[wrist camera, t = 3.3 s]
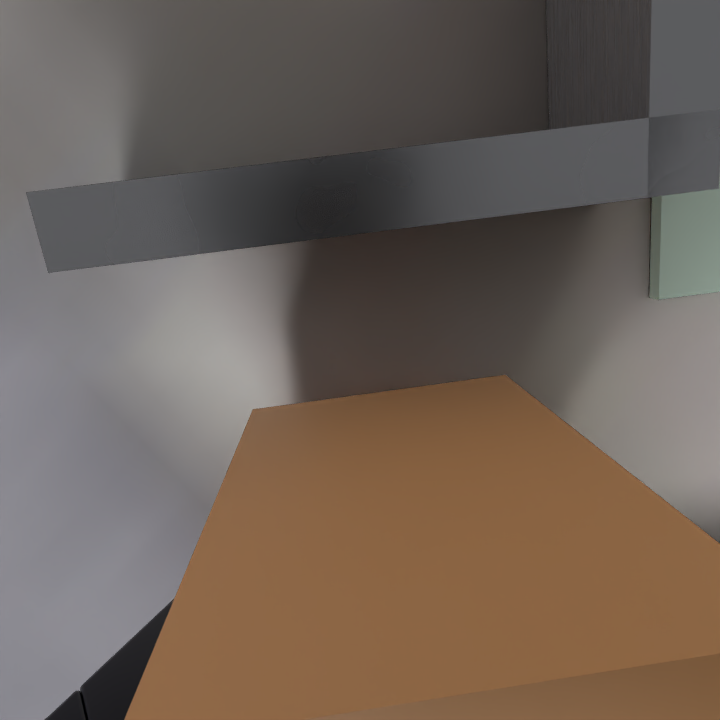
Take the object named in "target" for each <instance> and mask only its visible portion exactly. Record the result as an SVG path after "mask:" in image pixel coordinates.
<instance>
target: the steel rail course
mask: <svg viewBox="0 0 720 720" xmlns="http://www.w3.org/2000/svg"><path fill="white" fill-rule="evenodd" d="M546 19H547V60H548V101H549V130H542V131H534V132H525V133H517V134H509V135H500V136H492V137H484V138H475V139H467V140H459V141H450V142H442V143H434V144H425V145H417V146H408V147H400V148H392V149H383V150H375V151H367V152H358V153H350V154H342V155H333V156H325V157H317V158H308V159H300V160H292V161H283V162H275V163H267V164H258V165H250V166H242V167H233V168H225V169H217V170H208V171H200V172H192V173H183V174H175V175H167V176H158V177H150V178H141V179H133V180H125V181H116V182H108V183H100V184H91V185H83V186H75V187H66V188H58V189H50V190H41V191H33V192H26V194H27V197H28V201H29V205H30V208H31V212H32V216H33V219H34V223H35V227H36V230H37V234H38V238H39V241H40V245H41V248H42V252H43V256H44V259H45V263H46V267H47V270H48V273H51V272H59V271H67V270H75V269H83V268H91V267H99V266H107V265H115V264H123V263H131V262H139V261H147V260H155V259H163V258H171V257H179V256H186V255H194V254H202V253H210V252H218V251H226V250H234V249H242V248H250V247H258V246H266V245H274V244H282V243H290V242H298V241H306V240H314V239H322V238H330V237H338V236H346V235H354V234H362V233H370V232H378V231H386V230H394V229H402V228H410V227H418V226H426V225H434V224H442V223H450V222H458V221H466V220H474V219H482V218H489V217H497V216H505V215H513V214H521V213H529V212H537V211H545V210H553V209H561V208H569V207H577V206H585V205H593V204H601V203H609V202H617V201H625V200H633V199H641V198H649V197H657V196H665V195H673V194H681V193H689V192H697V191H705V190H713V189H719V178H720V0H546Z"/></svg>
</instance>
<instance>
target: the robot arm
mask: <svg viewBox="0 0 720 720" xmlns="http://www.w3.org/2000/svg"><path fill="white" fill-rule="evenodd" d="M173 601H174V599H173V600H172V601H171V602H170V603H169V604H168V605H167V606H166V607H165V608H164V609H163V610H161V611H160V612H159V613H158V614H157V615H156V616H155V617H154V618H153V619H152V620H151V621H150V622H149V623H148V624H147V625H145V626H144V627H143V628H142V629H141V630H140V631H139V632H138V633H137V634H136V635H135V636H134V637H133V638H132V639H131V640H130V641H128V642H127V643H126V644H125V645H124V646H123V647H122V648H121V649H120V650H119V651H118V652H117V653H116V654H115V655H114V656H112V657H111V658H110V659H109V660H108V661H107V662H106V663H105V664H104V665H103V666H102V667H101V668H100V669H99V670H98V671H96V672H95V673H94V674H93V675H92V676H91V677H90V678H89V679H88V680H87V681H86V682H85V683H84V684H83V685H82V686H81V688H80V691H81V692H80V691H75V692H74V693H73V694H72V695H71V696H70V697H69V698H68V699H66V700H65V701H64V702H63V703H62V704H61V705H60V706H59V707H58V708H57V709H56V710H55V711H54V712H53V713H52V714H50V715H49V716H48V717H47V718H46V719H45V720H124V719H125V717H126V714H127V712H128V709H129V707H130V705H131V702H132V700H133V697H134V695H135V693H136V690H137V688H138V685H139V683H140V680H141V678H142V676H143V673H144V671H145V668H146V666H147V664H148V661H149V659H150V656H151V654H152V652H153V649H154V647H155V644H156V642H157V639H158V637H159V635H160V632H161V630H162V627H163V625H164V623H165V620H166V618H167V615H168V613H169V611H170V608H171V606H172V603H173Z"/></svg>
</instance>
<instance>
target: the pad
mask: <svg viewBox="0 0 720 720" xmlns="http://www.w3.org/2000/svg"><path fill="white" fill-rule="evenodd" d="M714 292H720V178H719V189H713V190H705V191H697V192H689V193H681V194H673V195H665V196H657V197H652V211H651V254H650V296H649V298H652V299H657V300H661V299H669V298H676V297H684V296H691V295H699V294H706V293H714Z"/></svg>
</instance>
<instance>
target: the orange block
mask: <svg viewBox="0 0 720 720" xmlns="http://www.w3.org/2000/svg"><path fill="white" fill-rule="evenodd" d="M124 720H720V543H718V542H717V541H716V540H715V539H713V538H712V537H711V536H709V535H708V534H707V533H706V532H704V531H703V530H702V529H701V528H699V527H698V526H697V525H696V524H694V523H693V522H692V521H690V520H689V519H688V518H687V517H685V516H684V515H683V514H682V513H680V512H679V511H678V510H676V509H675V508H674V507H673V506H671V505H670V504H669V503H668V502H666V501H665V500H664V499H662V498H661V497H660V496H659V495H657V494H656V493H655V492H654V491H652V490H651V489H650V488H648V487H647V486H646V485H645V484H643V483H642V482H641V481H640V480H638V479H637V478H636V477H635V476H633V475H632V474H631V473H629V472H628V471H627V470H626V469H624V468H623V467H622V466H621V465H619V464H618V463H617V462H615V461H614V460H613V459H612V458H610V457H609V456H608V455H607V454H605V453H604V452H603V451H601V450H600V449H599V448H598V447H596V446H595V445H594V444H593V443H591V442H590V441H589V440H587V439H586V438H585V437H584V436H582V435H581V434H580V433H579V432H577V431H576V430H575V429H574V428H572V427H571V426H570V425H568V424H567V423H566V422H565V421H563V420H562V419H561V418H560V417H558V416H557V415H556V414H554V413H553V412H552V411H551V410H549V409H548V408H547V407H546V406H544V405H543V404H542V403H540V402H539V401H538V400H537V399H535V398H534V397H533V396H532V395H530V394H529V393H528V392H526V391H525V390H524V389H523V388H521V387H520V386H519V385H518V384H516V383H515V382H514V381H513V380H511V379H510V378H509V377H507V376H506V375H499V376H492V377H485V378H478V379H470V380H463V381H456V382H449V383H441V384H434V385H427V386H419V387H412V388H405V389H398V390H390V391H383V392H376V393H369V394H361V395H354V396H347V397H340V398H332V399H325V400H318V401H311V402H303V403H296V404H289V405H282V406H274V407H267V408H260V409H253V410H252V413H251V415H250V418H249V420H248V422H247V425H246V427H245V430H244V432H243V434H242V437H241V439H240V442H239V444H238V446H237V449H236V451H235V454H234V456H233V459H232V461H231V463H230V466H229V468H228V471H227V473H226V475H225V478H224V480H223V483H222V485H221V487H220V490H219V492H218V495H217V497H216V500H215V502H214V504H213V507H212V509H211V512H210V514H209V516H208V519H207V521H206V524H205V526H204V528H203V531H202V533H201V536H200V538H199V541H198V543H197V545H196V548H195V550H194V553H193V555H192V557H191V560H190V562H189V565H188V567H187V570H186V572H185V574H184V577H183V579H182V582H181V584H180V586H179V589H178V591H177V594H176V596H175V598H174V601H173V603H172V606H171V608H170V611H169V613H168V615H167V618H166V620H165V623H164V625H163V627H162V630H161V632H160V635H159V637H158V639H157V642H156V644H155V647H154V649H153V652H152V654H151V656H150V659H149V661H148V664H147V666H146V668H145V671H144V673H143V676H142V678H141V680H140V683H139V685H138V688H137V690H136V693H135V695H134V697H133V700H132V702H131V705H130V707H129V709H128V712H127V714H126V717H125V719H124Z"/></svg>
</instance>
